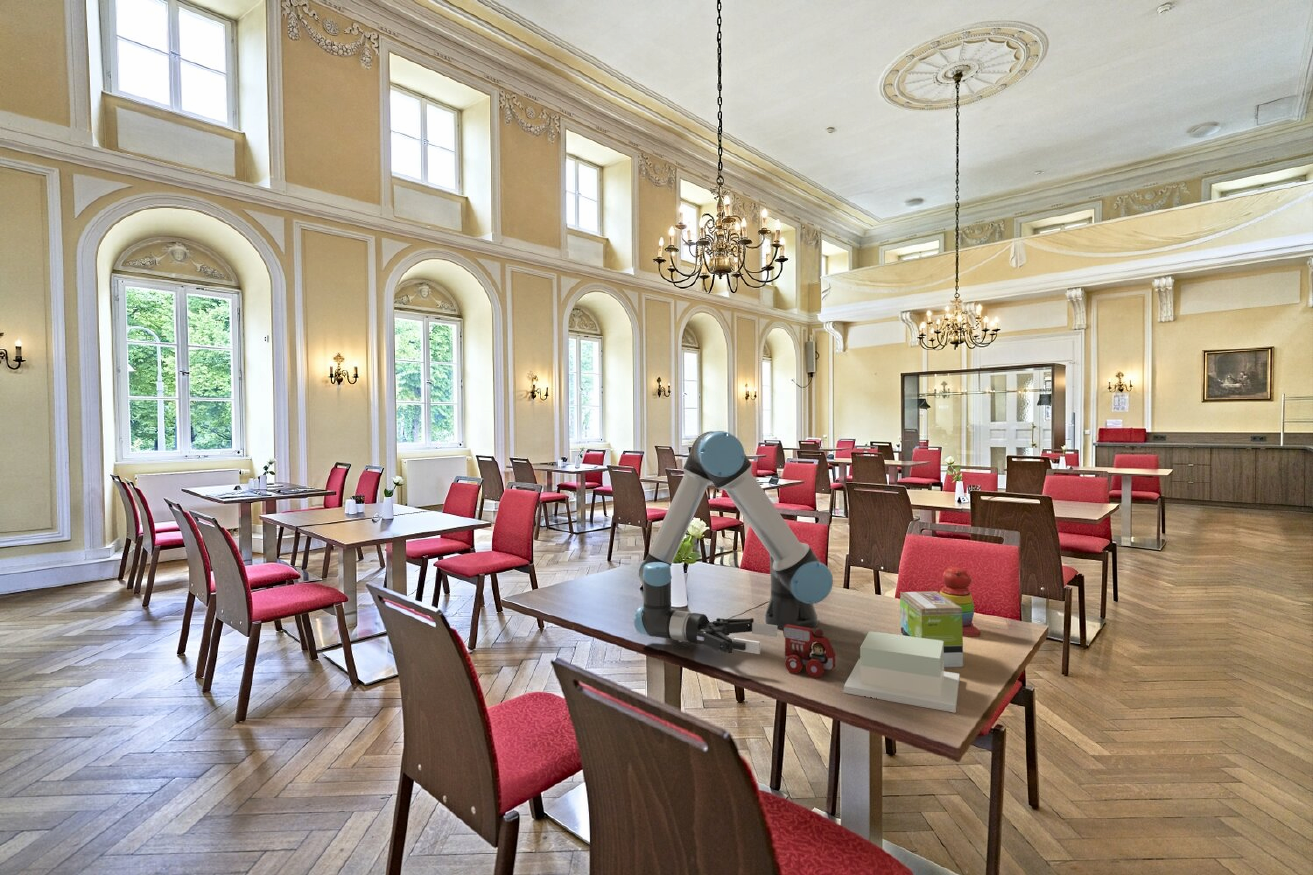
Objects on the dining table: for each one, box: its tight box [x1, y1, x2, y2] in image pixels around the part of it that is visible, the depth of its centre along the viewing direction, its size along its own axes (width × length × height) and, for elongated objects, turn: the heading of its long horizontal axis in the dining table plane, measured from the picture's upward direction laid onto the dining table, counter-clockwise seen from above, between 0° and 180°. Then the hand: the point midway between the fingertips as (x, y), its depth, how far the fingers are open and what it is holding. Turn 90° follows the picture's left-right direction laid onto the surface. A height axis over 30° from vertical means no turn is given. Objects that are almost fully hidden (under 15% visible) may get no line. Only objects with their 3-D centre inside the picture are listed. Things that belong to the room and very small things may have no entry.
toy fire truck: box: [782, 624, 836, 679], centre depth 149 cm, size 7×12×10 cm, turn 57°
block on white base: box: [843, 630, 960, 714], centre depth 139 cm, size 22×18×10 cm
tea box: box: [899, 590, 964, 668], centre depth 156 cm, size 15×10×15 cm, turn 178°
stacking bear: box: [939, 565, 981, 637], centre depth 176 cm, size 11×10×18 cm
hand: (768, 639), depth 153 cm, fingers open, 13 cm apart
